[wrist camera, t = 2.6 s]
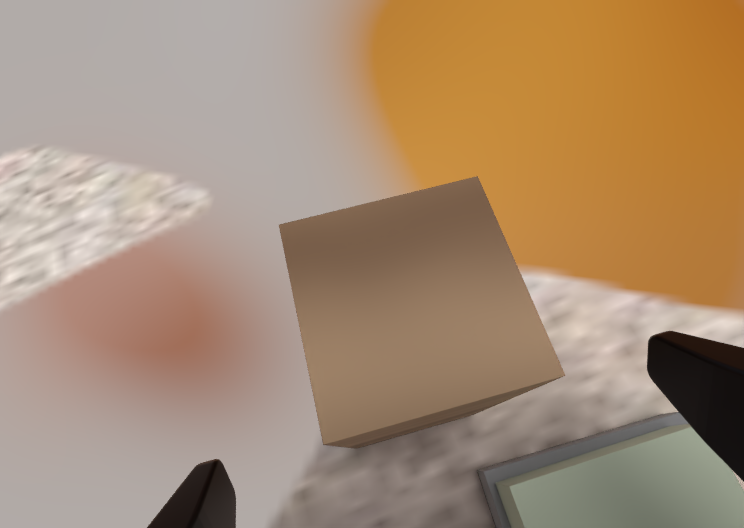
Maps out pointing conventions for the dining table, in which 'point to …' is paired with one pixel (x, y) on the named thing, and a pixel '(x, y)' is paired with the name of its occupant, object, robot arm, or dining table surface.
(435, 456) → the dining table surface
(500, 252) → the walnut pillar
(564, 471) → the sage top slab
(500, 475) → the gray base slab
